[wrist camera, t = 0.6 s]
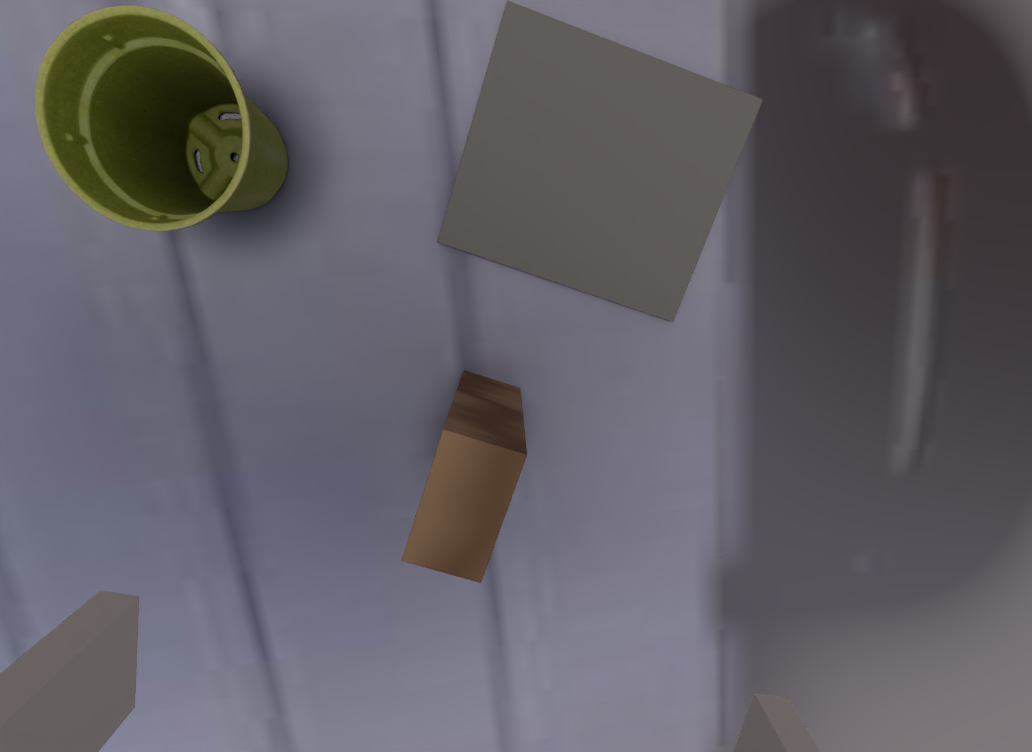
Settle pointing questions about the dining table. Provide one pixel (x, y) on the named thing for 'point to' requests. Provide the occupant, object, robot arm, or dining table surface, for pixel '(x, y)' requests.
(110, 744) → the dining table surface
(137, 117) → the plant pot
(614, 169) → the rubber mat
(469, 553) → the walnut block
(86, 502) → the dining table surface
